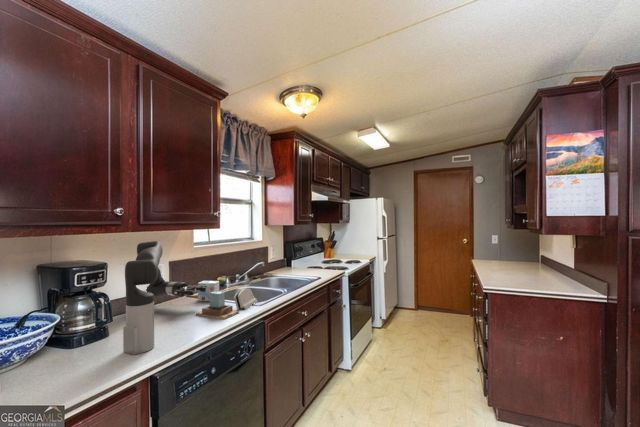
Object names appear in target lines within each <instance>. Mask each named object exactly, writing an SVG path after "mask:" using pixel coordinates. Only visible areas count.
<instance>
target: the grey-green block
mask: <svg viewBox="0 0 640 427" xmlns="http://www.w3.org/2000/svg"><path fill="white" fill-rule="evenodd" d="M225 298H226V297H225V292H224V291H220V290H219V291H214V292H211V293H210V301H209V306H210V309H216V310H221V309H223V308H225V305H226V304H225V301H226V300H225Z"/></svg>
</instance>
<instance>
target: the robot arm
mask: <svg viewBox="0 0 640 427" xmlns="http://www.w3.org/2000/svg"><path fill="white" fill-rule="evenodd" d="M136 255H137V256H136V257H135V260H128V261H127V262H126V263H125V265H124V266H125V267H124V282H125V325H123V327H122V334H123V336H122V342H123V343H122V347H123V349H122V350H123V353H125V354H130V355H133V356H134V355H138V354H142V353H145V352H146V353H147V352H149V351H151V350H152V349H154V348H155V297H159V296H164V295H167V296H172V297H179V298H181V297H185V296H194V293H198V291H202V292H205V291H206V288H205V287H203V286H202V285H198V284H193V285H188V283H186V282H183V281H166V280H165V279H164V277H162V272H161V269H160V268H159V265H160V261H161V258H162V256H163V246H162V243H161V242H160V241H158V240H153V241H145V242H144V241H142V242H139V243H138V244H137V246H136ZM143 285H144V286H145V285H146V288H147V289H145V290H141V289H139V288H138V287H137V286H143ZM146 291H147V292H146Z"/></svg>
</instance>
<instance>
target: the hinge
mask: <svg viewBox="0 0 640 427" xmlns="http://www.w3.org/2000/svg"><path fill="white" fill-rule="evenodd" d="M233 300H234V304H235V307H236V310H240V309H244V310H245V311H246V310H248V309H249V308H251V307H252V306H253V305H255V304H256V303H258V298H256V297H255V296H254V294H253V291H252V288H243V289H241V290H239V291H237V292H236V293H235V294H234V296H233ZM254 303H255V304H254ZM252 304H253V305H252ZM251 305H252V306H251ZM250 306H251V307H250Z"/></svg>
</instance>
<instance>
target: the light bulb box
mask: <svg viewBox="0 0 640 427" xmlns="http://www.w3.org/2000/svg"><path fill="white" fill-rule="evenodd" d="M197 285H202V286H203V287H205V288H206V291H205V292H202V291H197V301H198V302H200V301H201V302H210V293H211V292H214V291H219V292H220V281H219V280H202V281H200V282H197Z"/></svg>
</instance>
